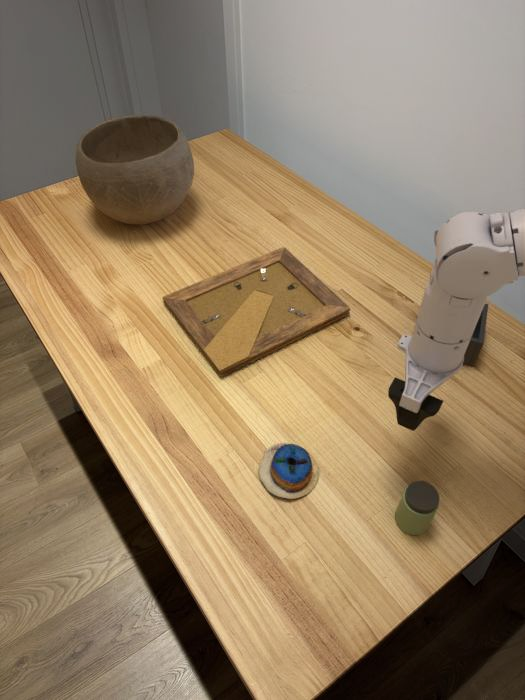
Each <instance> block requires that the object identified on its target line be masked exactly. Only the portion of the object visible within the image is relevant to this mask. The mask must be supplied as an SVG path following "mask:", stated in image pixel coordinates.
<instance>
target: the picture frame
mask: <svg viewBox="0 0 525 700" xmlns="http://www.w3.org/2000/svg"><path fill="white" fill-rule="evenodd" d="M162 302H163V305H164V307H166V309H167V310H168V311H169V312H170V314H171V315H172V316H173V318H174V319H175V320H176V322H177V323H178V324H179V325H180V327H181V328H182V329H183V331H184V332H185V333H186V335H187V336H188V337H189V339H190V340H191V341H192V343H193V344H194V345H195V347H196V348H197V349H198V350H199V351H200V353H201V354H202V356H203V357H204V359H206V360H207V362H208V363H209V365H210V366H211V367H212V368H213V370H214V372H215V373H216V374H217V375H218V376H219V377H220V378H223V377H225V376H227V375H229V374H231V373H233V372H235V371H237V370H239V369H242V368H243V367H245V366H247V365H249V364H252V363H253V362H256V361H257V360H259V359H262V358H263V357H266V356H268V355H270V354H271V353H273V352H276V351H278V350H280V349H282V348H284V347H286V346H288V345H290V344H292V343H294V342H296V341H298V340H300V339H302V338H304V337H306V336H308V335H310V334H312V333H314V332H316V331H318V330H320V329H323V328H324V327H326V326H329V325H330V324H332V323H335V322H337V321H338V320H341V319H344V318H345V317H347V316H348V315H349V316H350V313H351V307H350V306H349V305H348V304H347V303H345V302H344V300H343V299H341V298H340V296H339V295H337V294H336V293H335V292H334V291H333V290H332V289H331V288H330V287H328V286H327V284H325V283H324V282H323V281H322V280H321V279H320V278H319V277H317V276H316V274H315V273H313V272H312V271H311V270H310V269H309V268H308V267H307V266H306V265H304V264H303V262H301V261H300V260H299V259H298V258H297V257H296V256H295V255H294V254H293V253H291V252H290V251H289V250H288V249H287V248H286V247H285V246H282V247H279V248H278V249H274V250H272V251H270V252H267V253H265V254H263V255H261V256H257V257H256V258H253V259H251V260H248V261H246V262H244V263H241V264H239V265H237V266H236V265H235V266H234V267H232V268H229V269H226V270H225V271H224V270H223V271H222V272H219V273H217V274H214V275H212V276H209V277H207V278H205V279H203V280H200V281H198V282H196V283H193V284H190V285H188V286H186V287H183V288H181V289H178V290H176V291H174V292H171V293H168V294H166V295H163V296H162Z"/></svg>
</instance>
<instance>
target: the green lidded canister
mask: <svg viewBox="0 0 525 700" xmlns="http://www.w3.org/2000/svg"><path fill="white" fill-rule="evenodd" d="M439 506H440V494H439V492H438V490H437V489H436V487H435V486H434V485H432V484H431V483H430V482H428V481H426V480H415V481H413V482H410V483H409V484H408V485H407V486H406V487H405V488H404V490H403V492H402V495H401V497H400V498H399V502H398V504H397V508H396V510H395V513H394V518H395V519H394V520H395V523H396V525H397V526H398V528H399V529H400V530H401V531H402V532H403V533H405V534H408V535H411V536H418V535H422V534H424V533H425V532H426V531H427V530H428V529H429V527H430V525H431V523H432V521H433V519H434V517H435V515H436V513H437V512H438V509H439Z"/></svg>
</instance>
